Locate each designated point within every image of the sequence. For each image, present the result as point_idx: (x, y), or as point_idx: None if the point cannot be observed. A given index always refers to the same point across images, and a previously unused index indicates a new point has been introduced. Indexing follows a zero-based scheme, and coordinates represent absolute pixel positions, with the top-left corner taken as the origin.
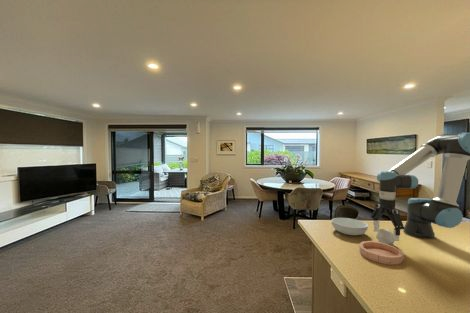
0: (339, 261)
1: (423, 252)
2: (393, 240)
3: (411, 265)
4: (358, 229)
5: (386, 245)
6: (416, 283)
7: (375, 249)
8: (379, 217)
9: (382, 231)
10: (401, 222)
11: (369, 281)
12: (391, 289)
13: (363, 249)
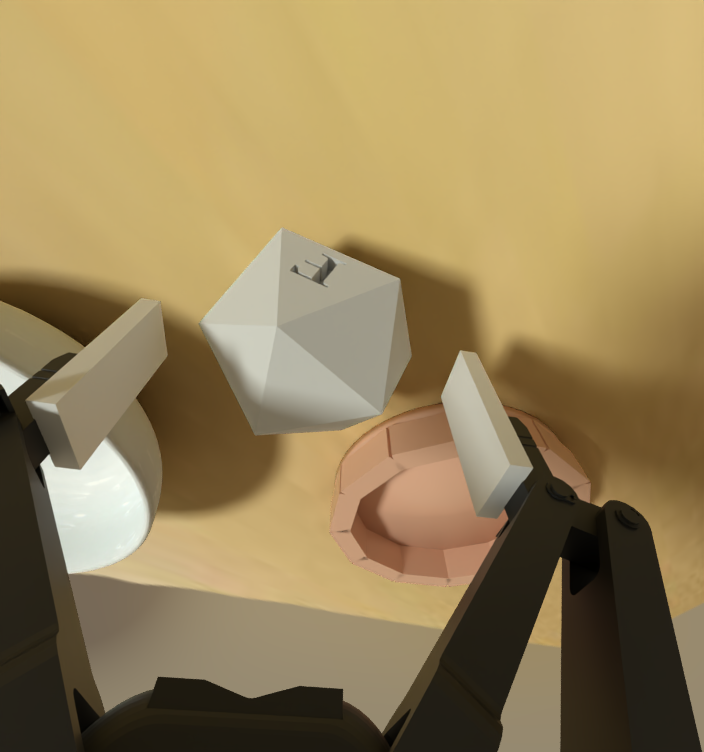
0: (407, 614)
1: (644, 88)
2: (444, 398)
3: (615, 443)
4: (156, 501)
5: (438, 458)
6: (668, 541)
7: (400, 483)
8: (35, 491)
9: (304, 430)
10: (658, 634)
11: (542, 616)
12: None
13: (417, 581)
